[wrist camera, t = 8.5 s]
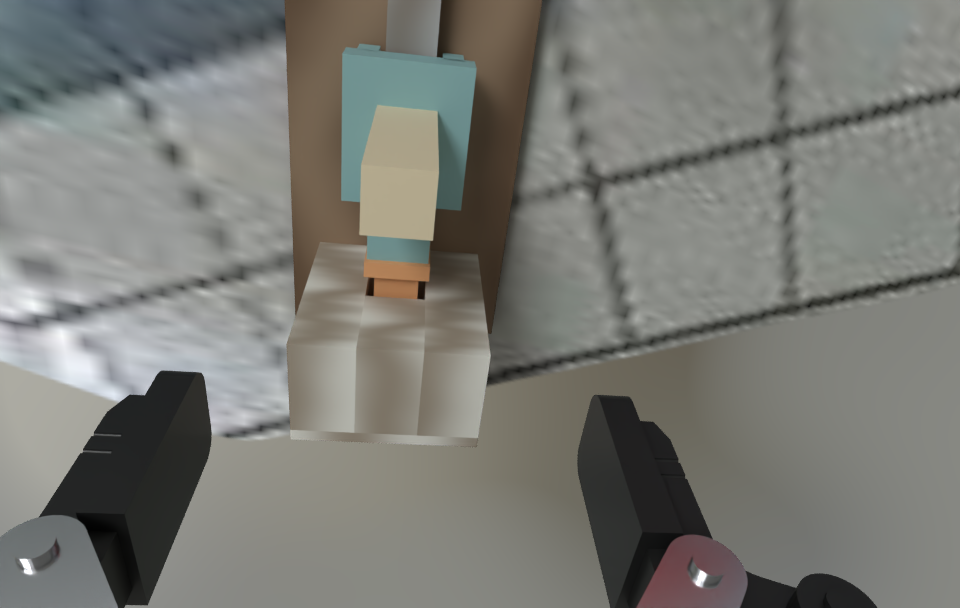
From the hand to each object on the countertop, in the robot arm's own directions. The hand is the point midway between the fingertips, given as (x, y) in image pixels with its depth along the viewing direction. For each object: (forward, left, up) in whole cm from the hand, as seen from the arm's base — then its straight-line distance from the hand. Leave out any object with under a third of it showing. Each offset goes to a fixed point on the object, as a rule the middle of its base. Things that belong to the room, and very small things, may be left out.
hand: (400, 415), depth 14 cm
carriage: (+1, +2, -23) cm, 23 cm away
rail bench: (+1, 0, -24) cm, 24 cm away
